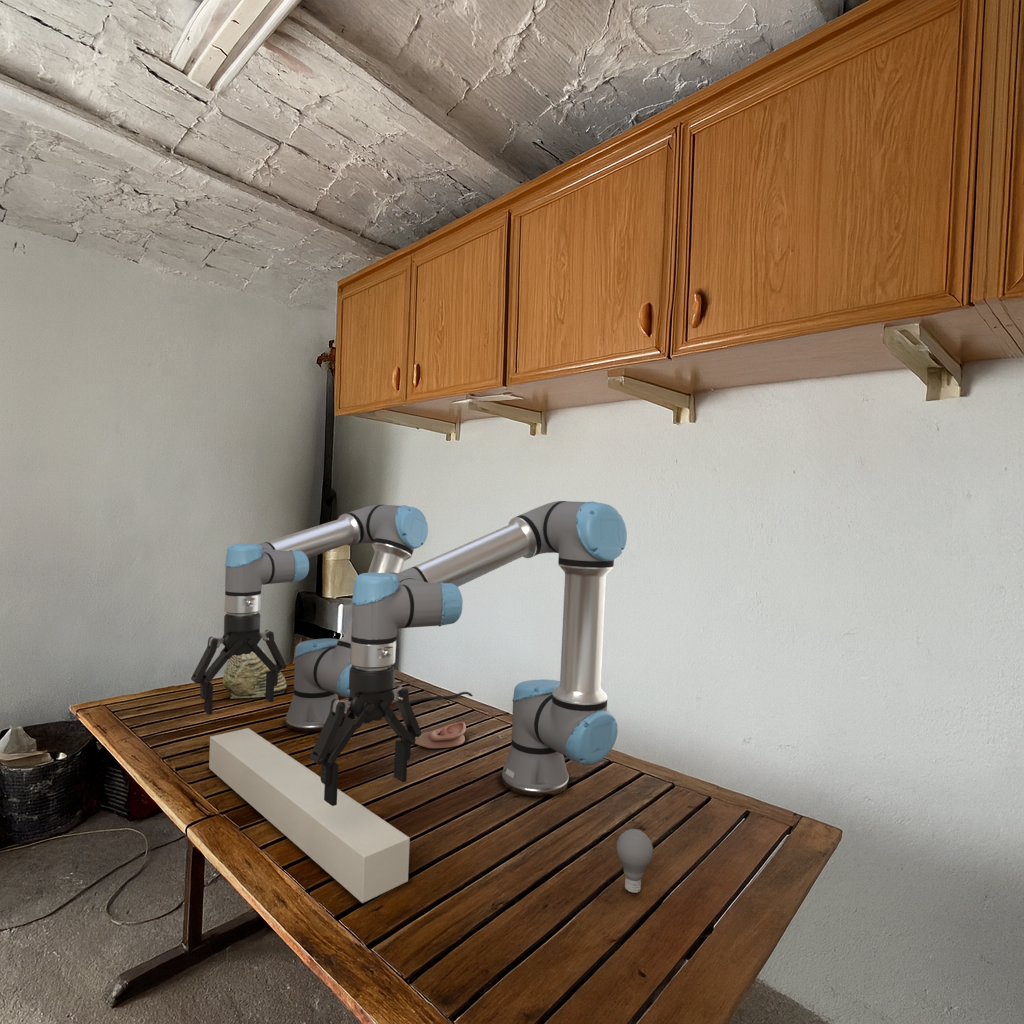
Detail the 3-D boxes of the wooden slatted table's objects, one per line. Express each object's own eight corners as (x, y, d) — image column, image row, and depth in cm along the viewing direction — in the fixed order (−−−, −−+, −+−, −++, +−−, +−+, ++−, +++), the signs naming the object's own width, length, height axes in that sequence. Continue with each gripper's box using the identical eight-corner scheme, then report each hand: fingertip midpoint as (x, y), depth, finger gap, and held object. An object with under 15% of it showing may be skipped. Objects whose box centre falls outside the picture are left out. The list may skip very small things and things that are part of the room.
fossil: (218, 695, 195) (220, 647, 195) (278, 685, 208) (279, 640, 207) (228, 703, 189) (230, 653, 188) (289, 692, 201) (290, 645, 201)
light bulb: (610, 879, 108) (613, 822, 108) (644, 879, 109) (647, 822, 109) (619, 902, 102) (622, 840, 102) (655, 901, 103) (658, 840, 103)
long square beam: (208, 768, 145) (209, 736, 145) (247, 758, 151) (248, 727, 151) (362, 903, 100) (364, 857, 99) (408, 881, 106) (410, 837, 106)
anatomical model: (408, 730, 163) (423, 715, 174) (407, 745, 163) (422, 730, 174) (457, 736, 160) (469, 721, 171) (457, 752, 160) (469, 735, 171)
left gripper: (188, 621, 131) (185, 723, 131) (302, 610, 148) (299, 699, 149) (177, 615, 136) (174, 713, 137) (288, 605, 154) (285, 691, 154)
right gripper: (315, 682, 95) (308, 822, 95) (444, 659, 113) (438, 777, 113) (292, 671, 100) (285, 804, 101) (418, 651, 118) (413, 764, 118)
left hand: (239, 706), depth 143 cm, fingers open, 13 cm apart
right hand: (366, 790), depth 107 cm, fingers open, 13 cm apart
